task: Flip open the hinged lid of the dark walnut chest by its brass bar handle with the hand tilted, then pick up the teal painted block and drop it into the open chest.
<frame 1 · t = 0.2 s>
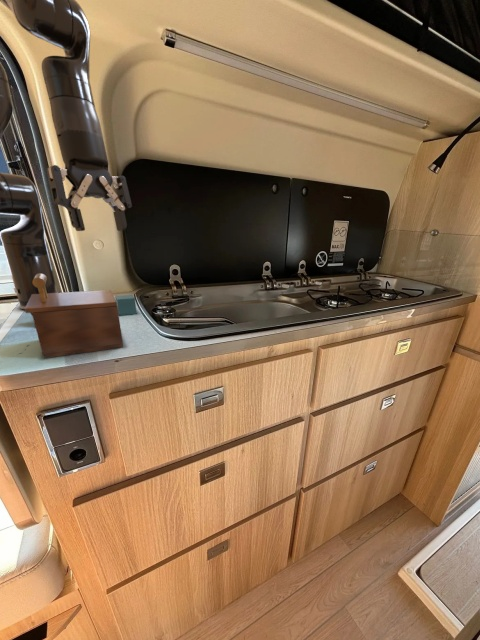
hand: (102, 230, 59), 22 cm above the worktop, tool pointing down, fingers open, 8 cm apart
lid: (71, 288, 57), point 12 cm above the worktop, hinge at 0.0°
chest: (85, 342, 62), on the worktop
block: (126, 312, 83), on the worktop
handheld gaming console: (64, 322, 73), on the worktop
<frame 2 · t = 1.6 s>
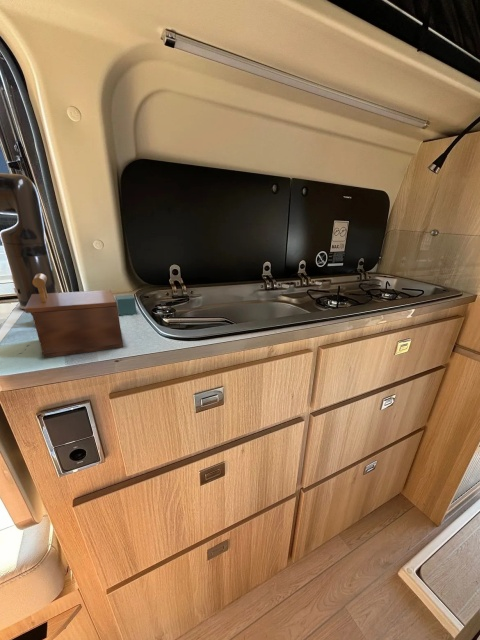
nothing on the worktop moved.
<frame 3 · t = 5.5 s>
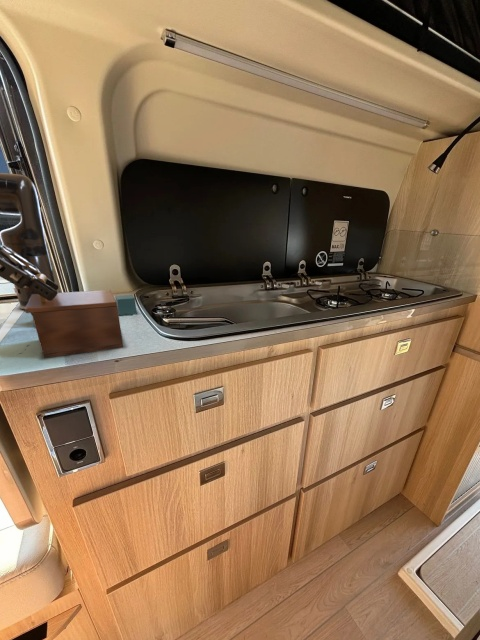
hand: (54, 293, 56), 11 cm above the worktop, tool tilted 45°, fingers closed on lid, 5 cm apart
lid: (71, 288, 57), point 12 cm above the worktop, hinge at -0.1°, touching gripper
everything else where it was.
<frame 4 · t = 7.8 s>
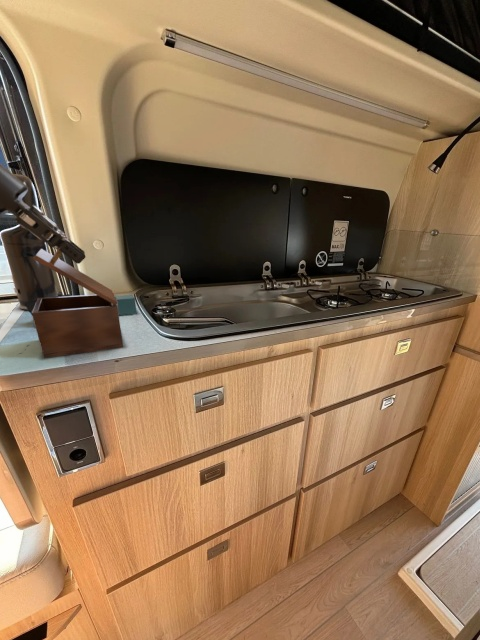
hand: (81, 258, 56), 17 cm above the worktop, tool tilted 45°, fingers closed on lid, 5 cm apart
lid: (85, 267, 57), point 16 cm above the worktop, hinge at 38.5°, touching gripper
everything else where it was.
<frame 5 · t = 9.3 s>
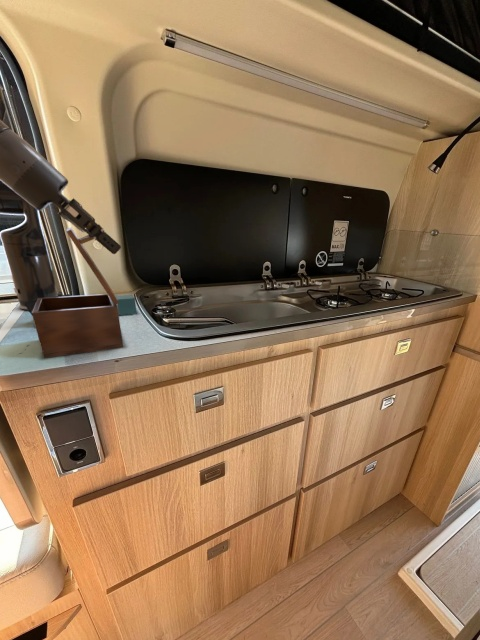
hand: (115, 249, 59), 19 cm above the worktop, tool tilted 45°, fingers closed on lid, 5 cm apart
lid: (104, 260, 58), point 17 cm above the worktop, hinge at 66.7°, touching gripper
everything else where it was.
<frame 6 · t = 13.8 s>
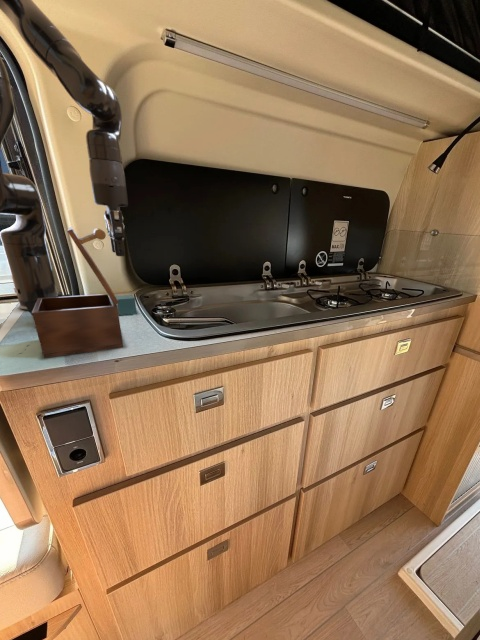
hand: (118, 254, 76), 16 cm above the worktop, tool pointing down, fingers open, 8 cm apart
lid: (104, 260, 58), point 17 cm above the worktop, hinge at 67.3°
everything else where it was.
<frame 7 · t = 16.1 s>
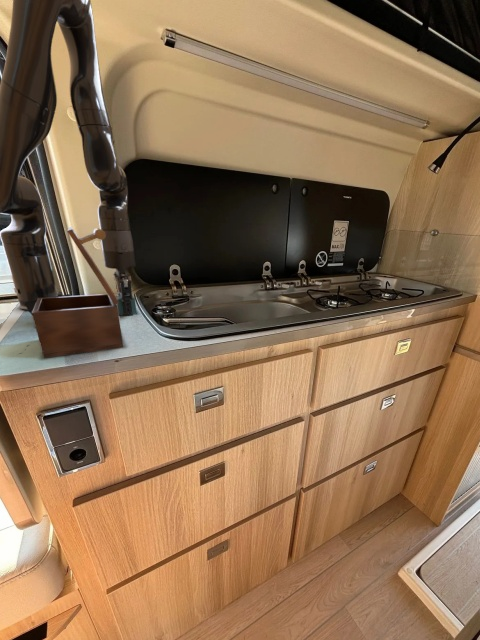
hand: (126, 311, 83), 0 cm above the worktop, tool pointing down, fingers closed on block, 4 cm apart
block: (126, 312, 83), on the worktop, touching gripper
everything else where it was.
when the fingers open (7 cm above the worktop, at t = 24.4 s): block drops 6 cm, resting on chest.
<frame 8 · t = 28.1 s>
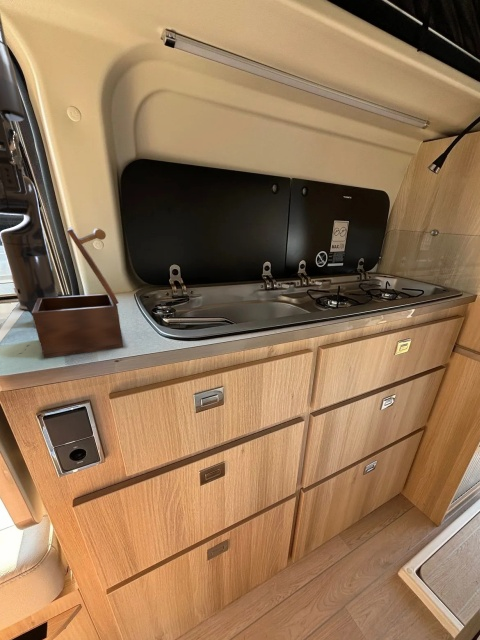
hand: (16, 192, 53), 28 cm above the worktop, tool pointing down, fingers open, 8 cm apart
block: (76, 339, 61), point 1 cm above the worktop, touching chest
everything else where it was.
at the end: lid at +67° (first picture: +0°); block inside the target area in the chest (1.4 cm from its centre), point 0.8 cm above the chest's base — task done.
